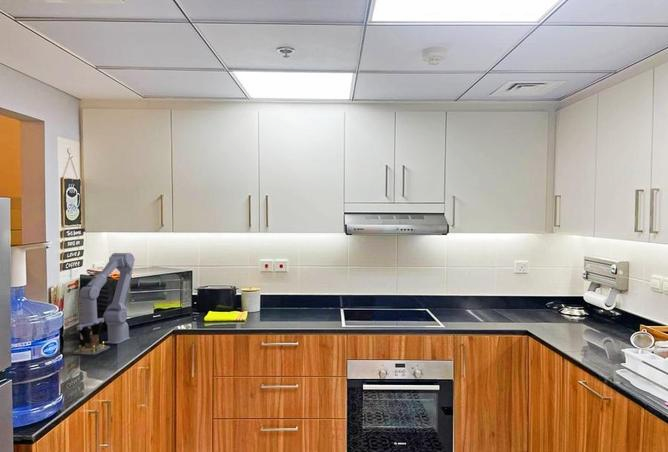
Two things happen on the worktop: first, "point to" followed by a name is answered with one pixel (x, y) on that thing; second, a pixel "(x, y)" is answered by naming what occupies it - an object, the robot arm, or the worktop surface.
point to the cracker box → (81, 315)
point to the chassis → (91, 351)
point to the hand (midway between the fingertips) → (91, 341)
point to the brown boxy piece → (93, 341)
